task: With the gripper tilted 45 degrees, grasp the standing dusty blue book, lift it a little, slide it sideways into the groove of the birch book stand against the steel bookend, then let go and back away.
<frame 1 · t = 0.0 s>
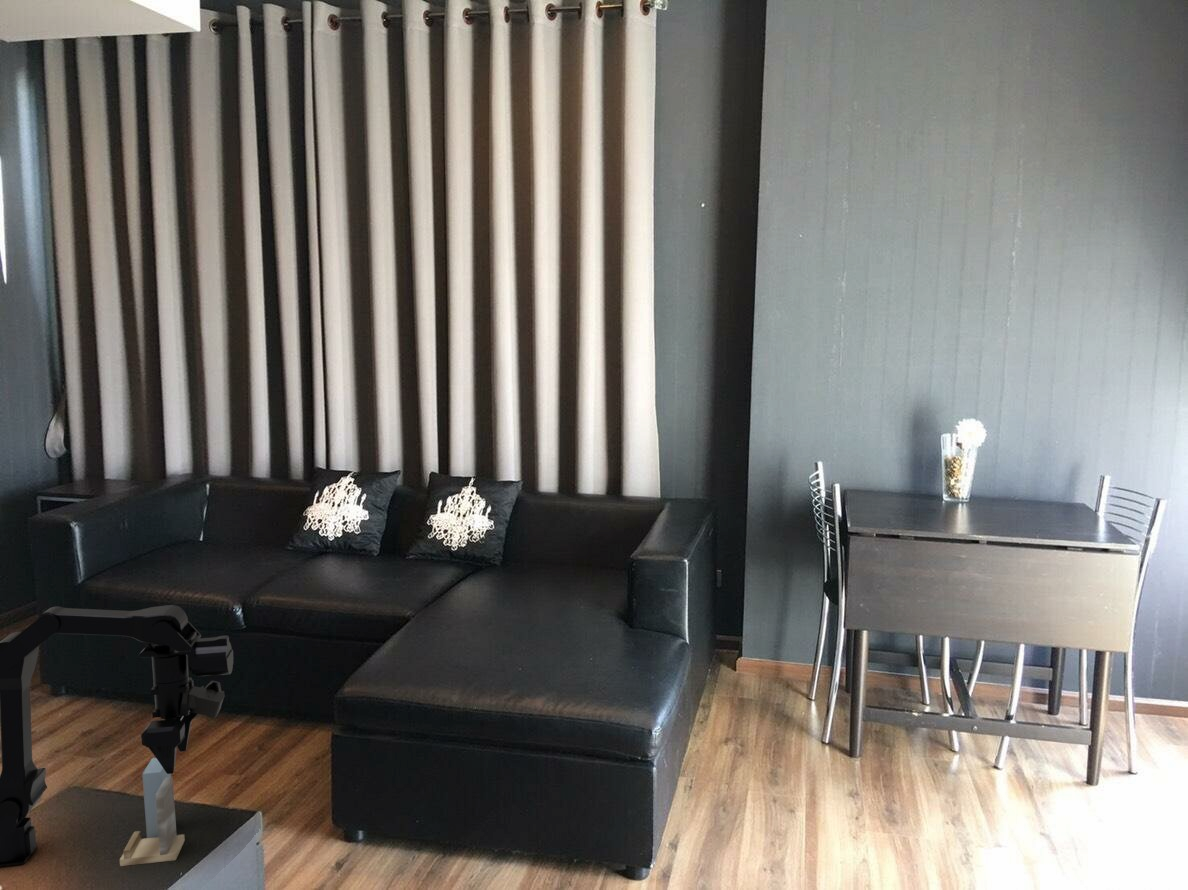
hand: (176, 761, 170), 14 cm above the table, tool pointing down, fingers open, 9 cm apart
book: (160, 832, 173), on the table
book stand: (150, 853, 166), on the table
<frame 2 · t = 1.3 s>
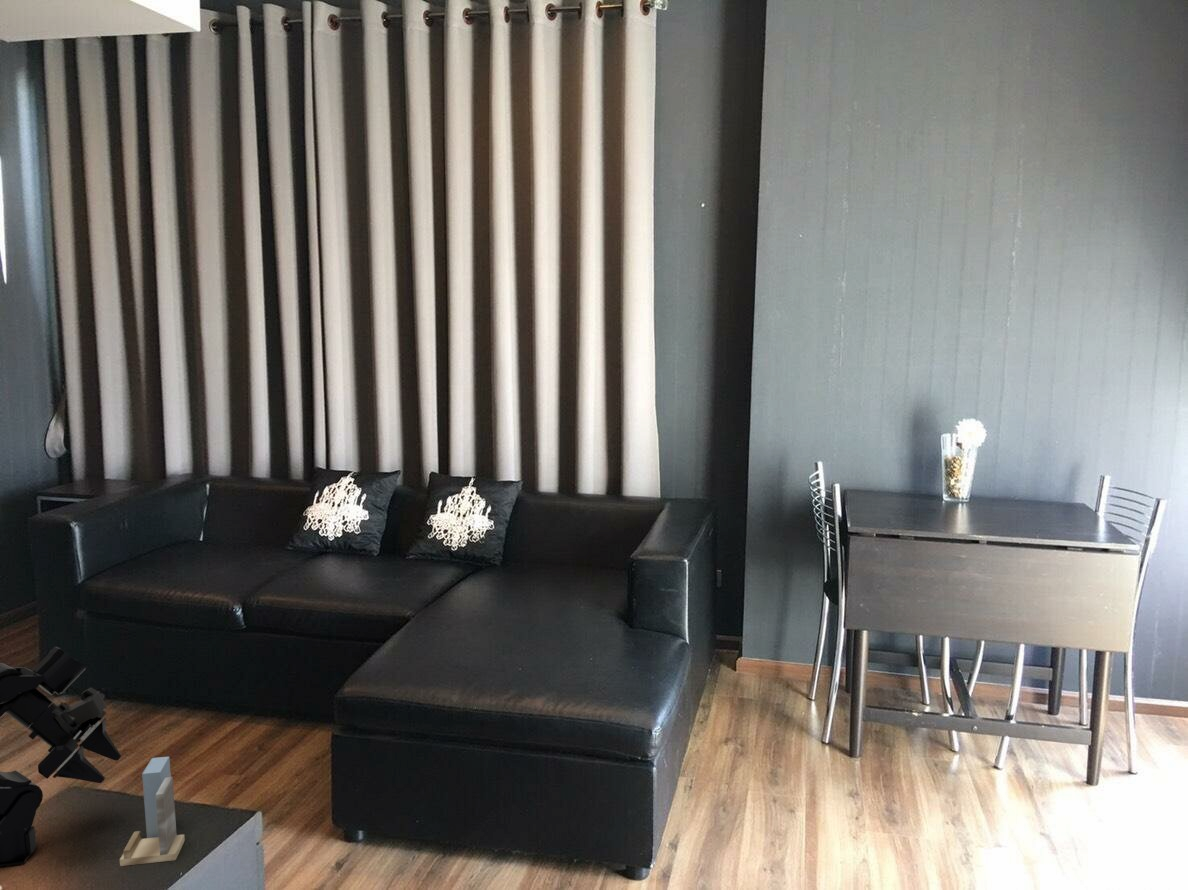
hand: (111, 769, 170), 13 cm above the table, tool tilted 45°, fingers open, 9 cm apart
nothing on the table moved.
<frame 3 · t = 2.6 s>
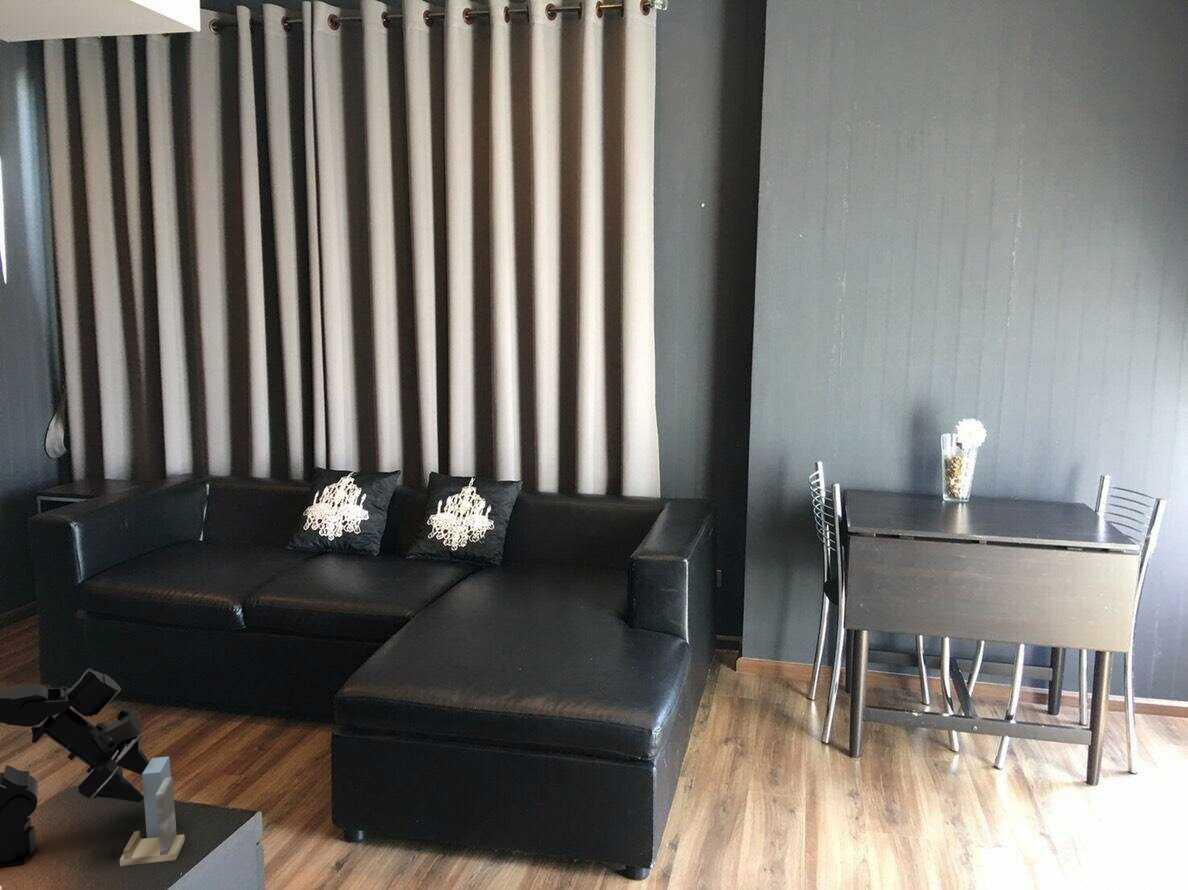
hand: (148, 787, 172), 9 cm above the table, tool tilted 45°, fingers open, 9 cm apart
nothing on the table moved.
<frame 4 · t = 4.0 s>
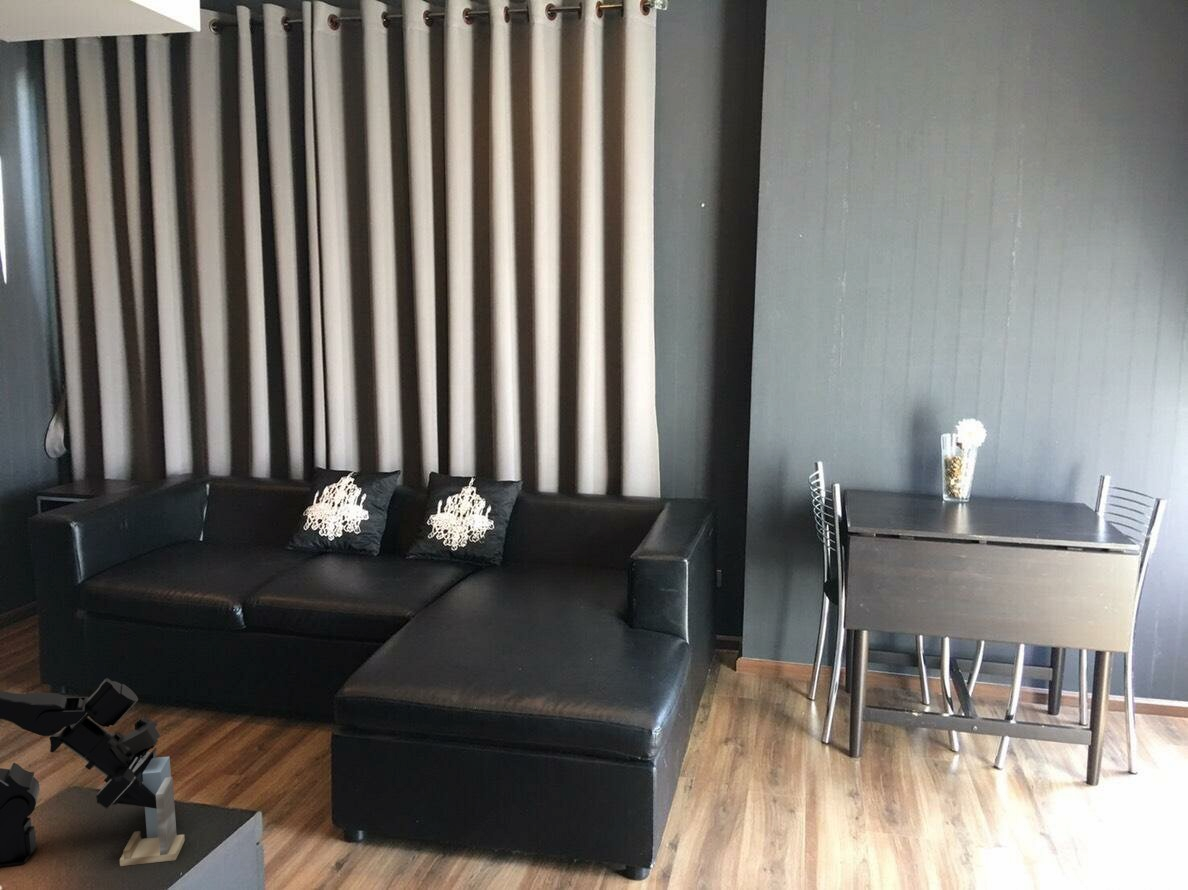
hand: (165, 797, 173), 7 cm above the table, tool tilted 45°, fingers closed on book, 6 cm apart
book: (161, 832, 173), on the table, touching gripper
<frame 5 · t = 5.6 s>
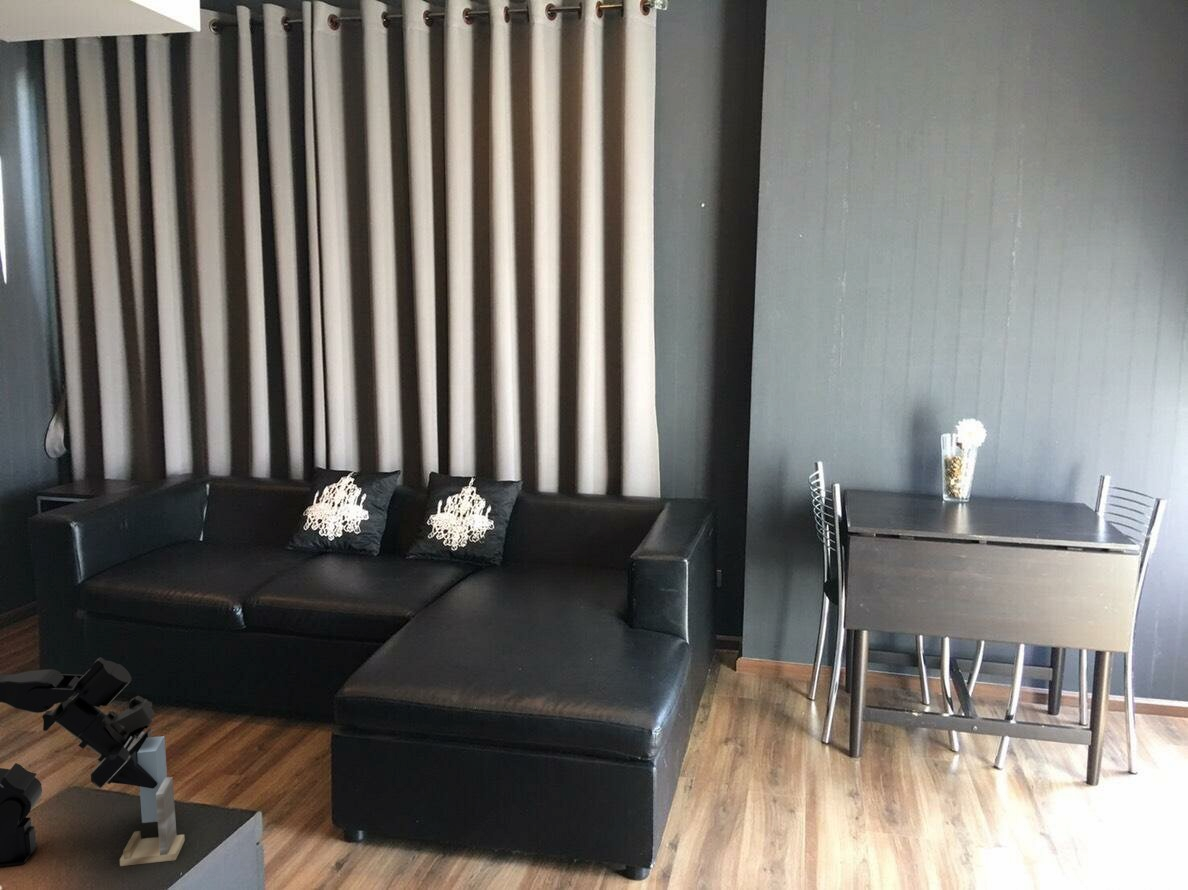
hand: (160, 777, 170), 11 cm above the table, tool tilted 45°, fingers closed on book, 6 cm apart
book: (155, 813, 171), point 5 cm above the table, touching gripper
when the fingers open (8 cm above the table, at t = 7.6 s): book stays where it is, resting on book stand.
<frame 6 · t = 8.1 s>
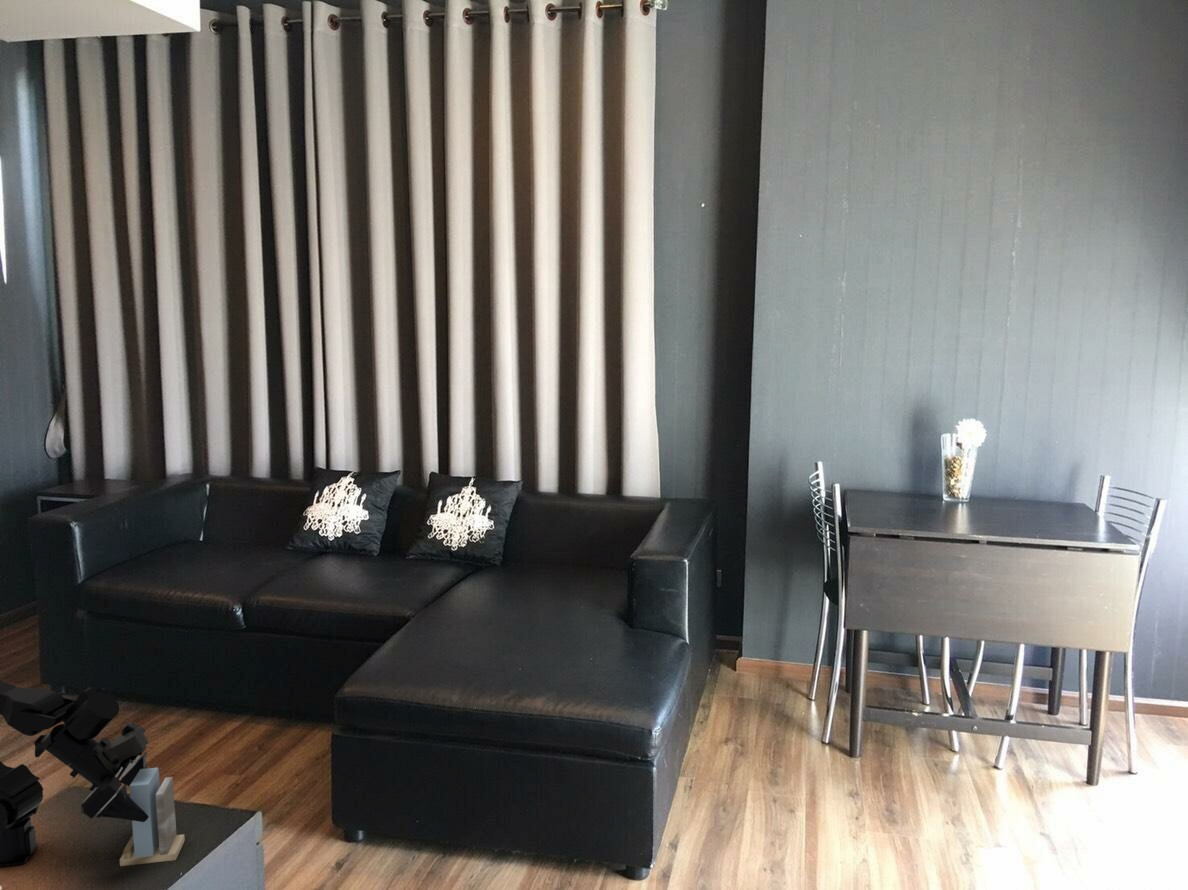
hand: (154, 806, 165), 9 cm above the table, tool tilted 45°, fingers open, 9 cm apart
book: (149, 847, 166), point 1 cm above the table, touching book stand
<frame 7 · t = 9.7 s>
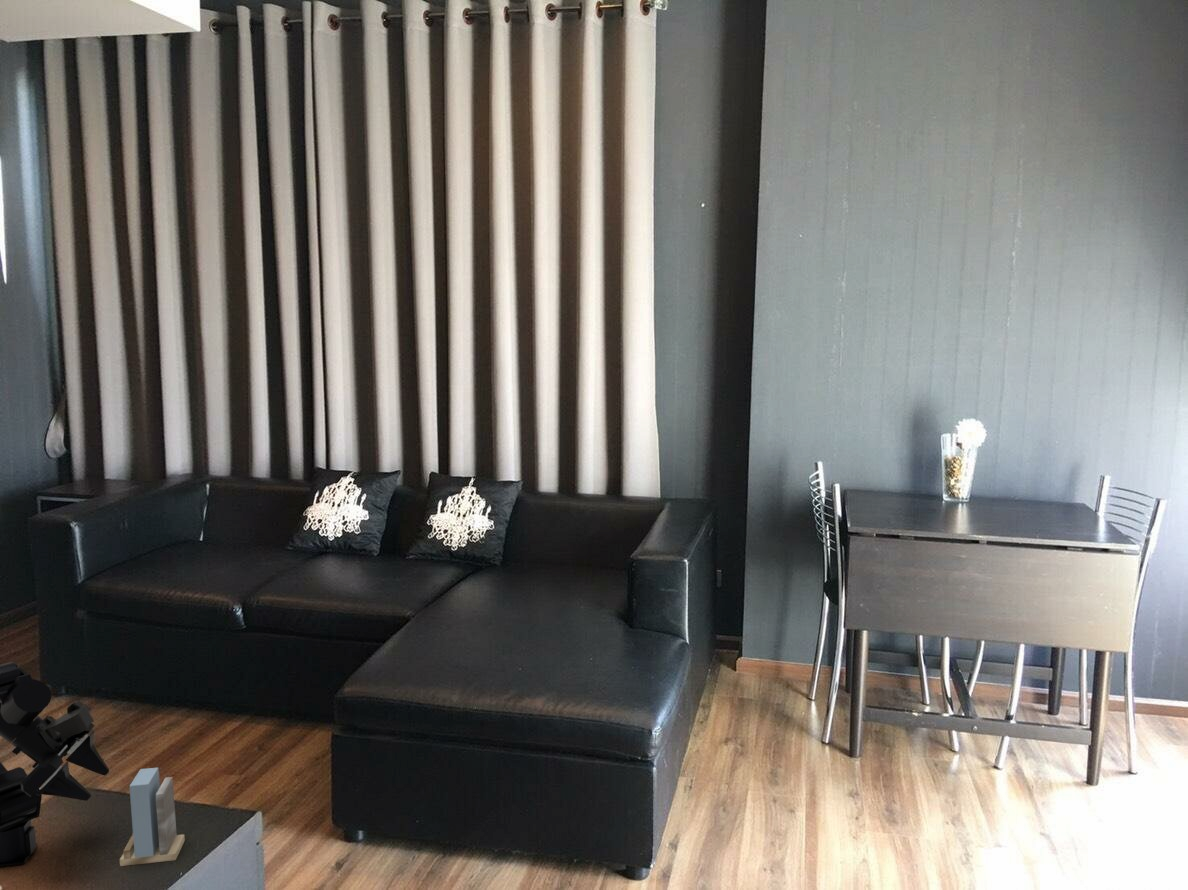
hand: (98, 785, 164), 13 cm above the table, tool tilted 45°, fingers open, 9 cm apart
nothing on the table moved.
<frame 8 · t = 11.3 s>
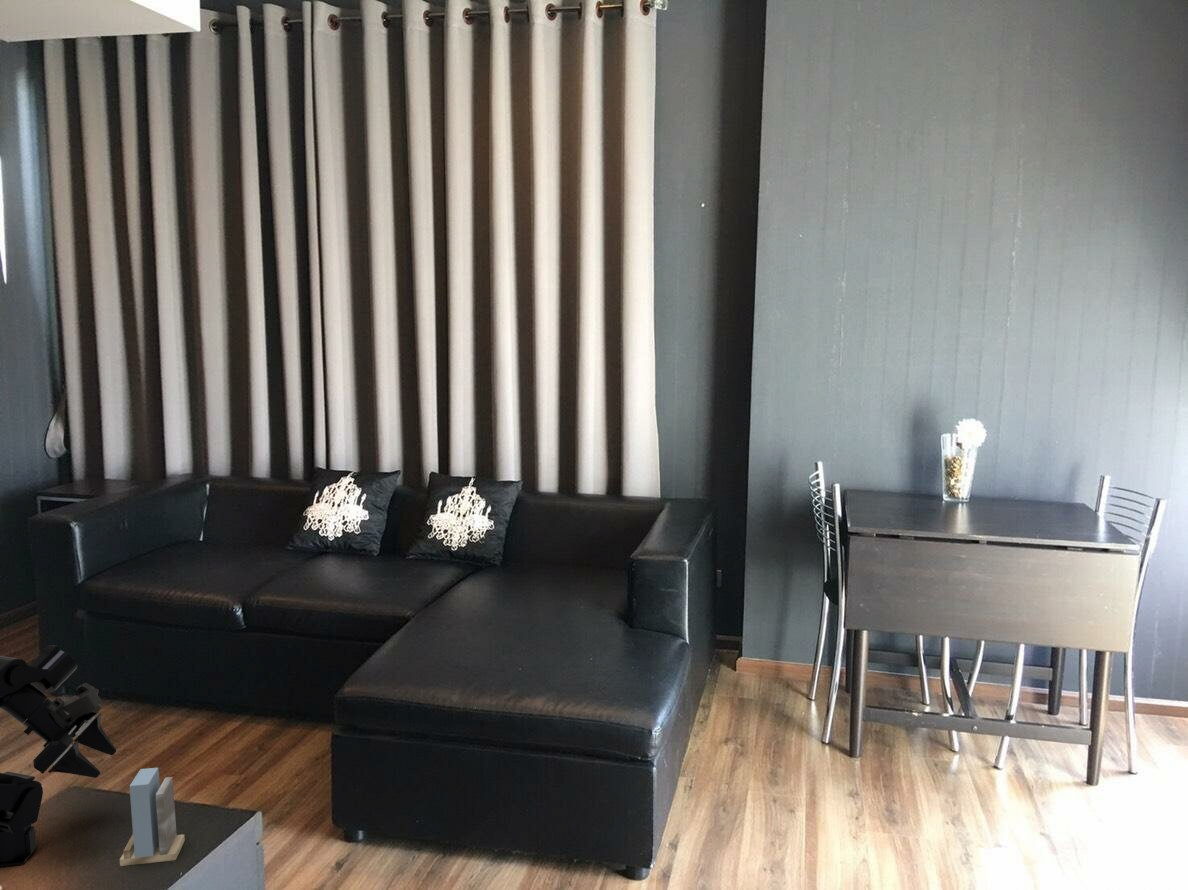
hand: (106, 764, 171), 14 cm above the table, tool tilted 45°, fingers open, 9 cm apart
nothing on the table moved.
at the end: book 0.0 cm off-centre on the book stand, point 1.2 cm above the book stand's base; book tilted 0°; the gripper is holding nothing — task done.
